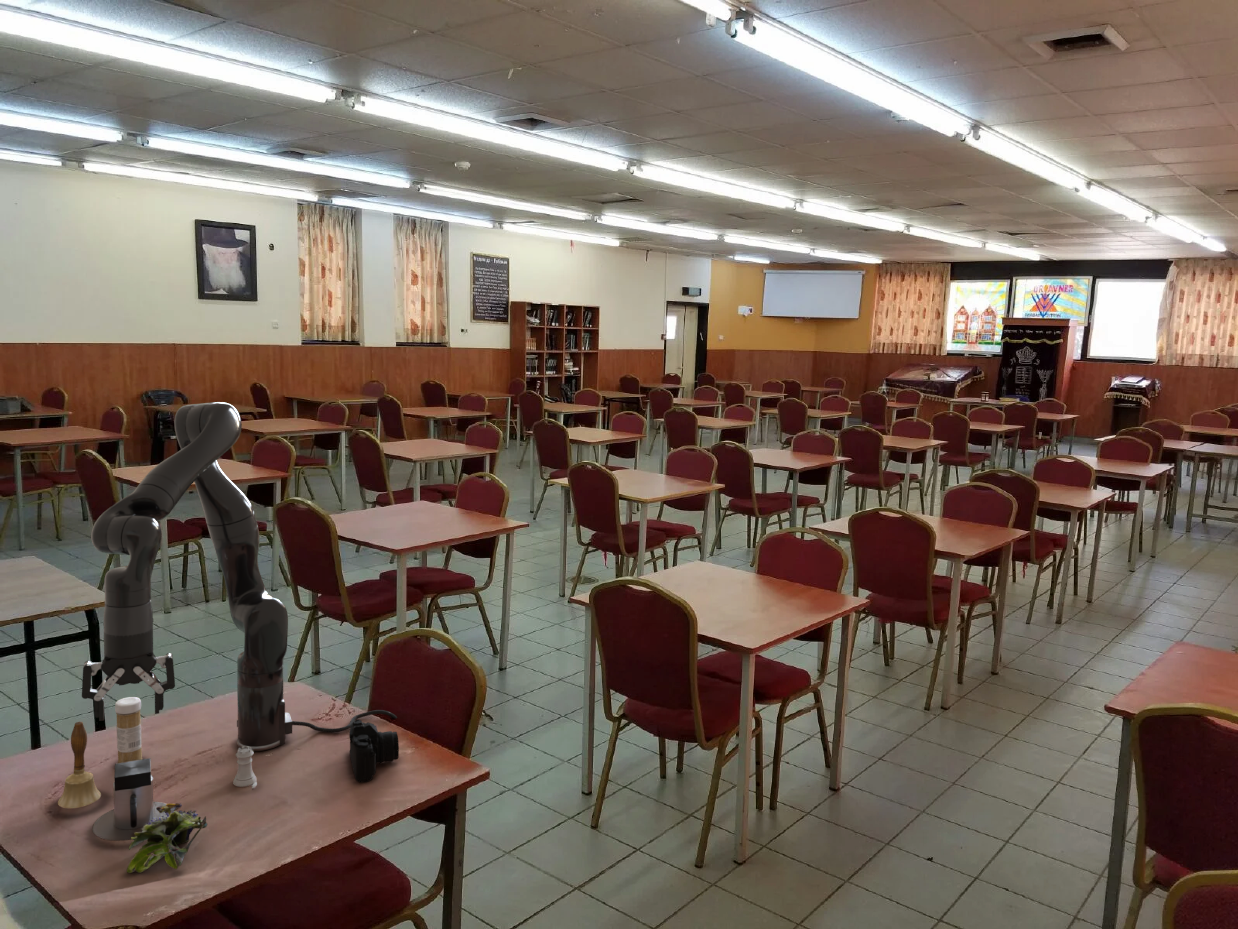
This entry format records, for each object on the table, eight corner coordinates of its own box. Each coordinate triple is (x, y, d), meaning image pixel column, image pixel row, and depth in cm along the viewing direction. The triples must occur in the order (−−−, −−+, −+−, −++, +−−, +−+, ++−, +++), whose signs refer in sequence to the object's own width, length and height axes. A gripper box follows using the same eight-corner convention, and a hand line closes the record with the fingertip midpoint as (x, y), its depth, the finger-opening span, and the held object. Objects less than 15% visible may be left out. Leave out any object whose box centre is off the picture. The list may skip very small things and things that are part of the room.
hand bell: (90, 788, 170) (87, 710, 168) (114, 801, 166) (112, 721, 164) (44, 806, 163) (40, 725, 161) (68, 821, 159) (65, 737, 157)
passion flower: (170, 879, 152) (207, 809, 157) (191, 898, 145) (229, 825, 149) (107, 861, 146) (148, 789, 151) (125, 881, 138) (167, 804, 143)
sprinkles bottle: (139, 756, 184) (138, 694, 182) (144, 764, 180) (143, 702, 178) (115, 761, 181) (113, 699, 179) (119, 770, 177) (117, 707, 175)
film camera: (402, 778, 180) (403, 736, 179) (353, 785, 176) (353, 742, 175) (392, 745, 194) (393, 706, 193) (346, 751, 190) (346, 711, 189)
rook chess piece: (262, 784, 175) (262, 746, 174) (245, 795, 171) (245, 756, 169) (244, 780, 176) (243, 742, 175) (227, 790, 172) (226, 751, 171)
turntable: (173, 801, 167) (173, 795, 167) (176, 837, 156) (176, 830, 156) (94, 816, 161) (93, 810, 161) (90, 854, 150) (90, 847, 149)
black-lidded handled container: (114, 815, 159) (113, 763, 158) (153, 808, 162) (152, 757, 161) (113, 840, 152) (111, 786, 150) (154, 833, 155) (152, 779, 153)
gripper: (79, 637, 147) (81, 730, 149) (174, 629, 153) (175, 718, 156) (82, 624, 153) (84, 713, 156) (174, 616, 160) (174, 702, 162)
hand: (129, 715), depth 156 cm, fingers open, 8 cm apart
